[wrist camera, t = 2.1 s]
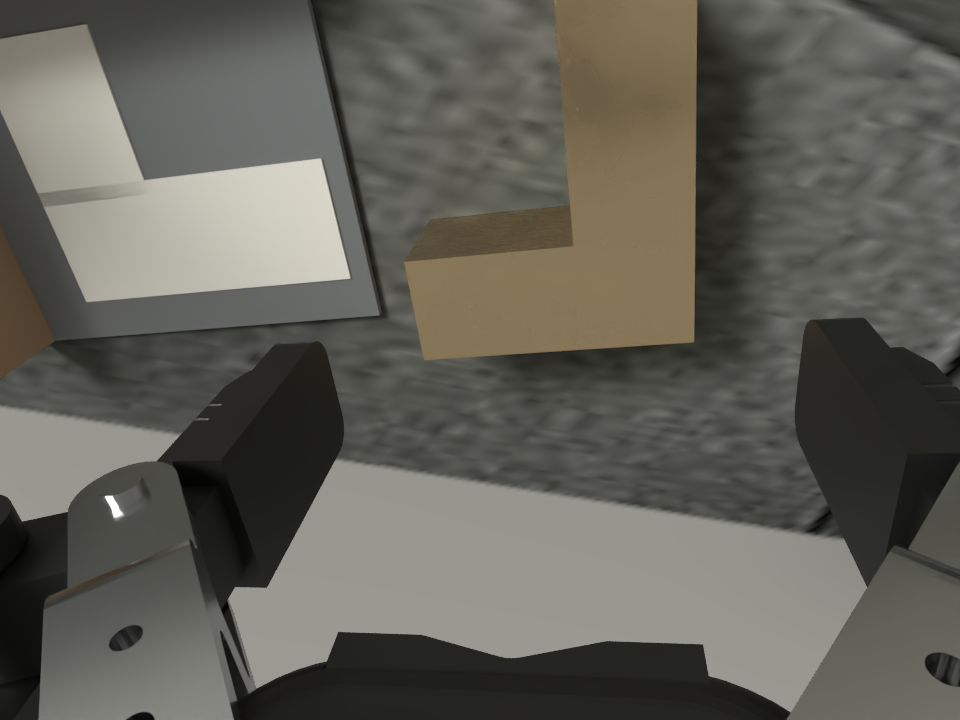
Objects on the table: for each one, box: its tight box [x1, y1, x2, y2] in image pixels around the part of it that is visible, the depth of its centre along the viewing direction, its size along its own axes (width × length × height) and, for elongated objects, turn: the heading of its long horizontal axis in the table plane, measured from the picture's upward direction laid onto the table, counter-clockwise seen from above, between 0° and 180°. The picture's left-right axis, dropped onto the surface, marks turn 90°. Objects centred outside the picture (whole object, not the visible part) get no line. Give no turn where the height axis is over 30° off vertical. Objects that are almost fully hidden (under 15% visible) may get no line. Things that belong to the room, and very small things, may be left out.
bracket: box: [404, 0, 697, 360], centre depth 24 cm, size 12×10×5 cm
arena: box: [0, 0, 382, 378], centre depth 27 cm, size 16×18×4 cm
